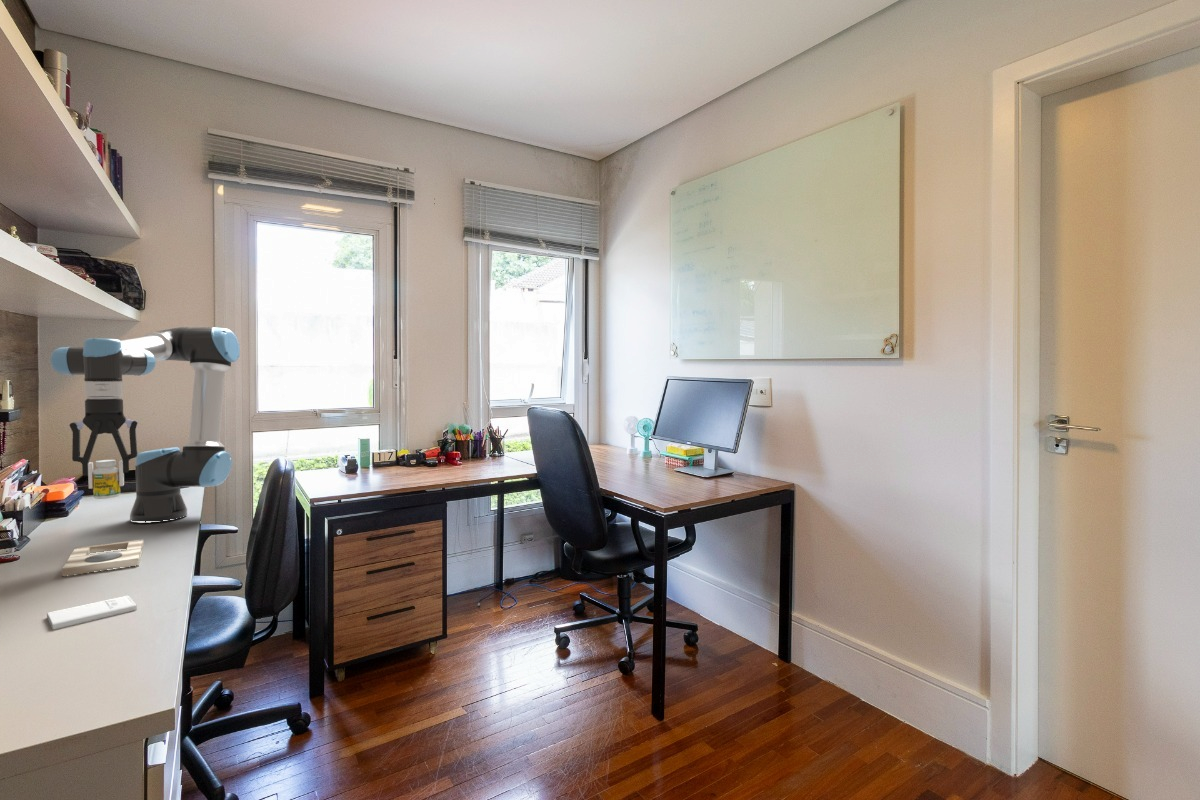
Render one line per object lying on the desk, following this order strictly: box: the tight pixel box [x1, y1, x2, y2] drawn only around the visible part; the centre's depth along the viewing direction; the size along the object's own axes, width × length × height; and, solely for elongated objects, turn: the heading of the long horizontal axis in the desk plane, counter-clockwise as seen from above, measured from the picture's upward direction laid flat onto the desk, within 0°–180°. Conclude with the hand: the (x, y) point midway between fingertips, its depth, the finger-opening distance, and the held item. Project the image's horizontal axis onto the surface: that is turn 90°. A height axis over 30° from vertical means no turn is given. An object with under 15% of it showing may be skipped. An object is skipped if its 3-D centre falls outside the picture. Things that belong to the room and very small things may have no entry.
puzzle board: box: [61, 539, 144, 577], centre depth 147 cm, size 20×14×2 cm
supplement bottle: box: [92, 459, 121, 500], centre depth 150 cm, size 5×5×10 cm
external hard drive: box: [46, 595, 138, 631], centre depth 114 cm, size 2×8×12 cm
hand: (106, 486), depth 150 cm, fingers closed on supplement bottle, 5 cm apart
